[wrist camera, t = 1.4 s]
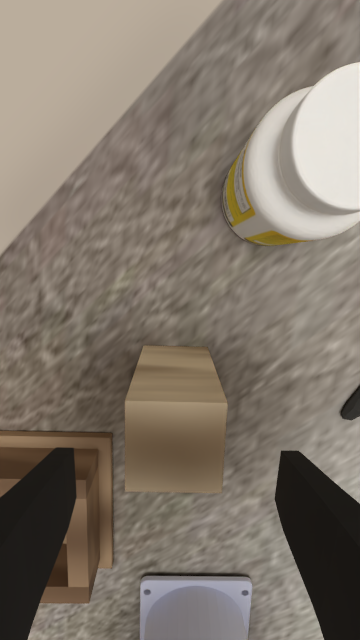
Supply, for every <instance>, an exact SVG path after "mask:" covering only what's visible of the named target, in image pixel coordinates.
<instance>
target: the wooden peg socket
mask: <svg viewBox="0 0 360 640" xmlns="http://www.w3.org/2000/svg"><path fill="white" fill-rule="evenodd" d="M56 447H64V448H74V460H75V477H76V494H77V498H76V502H75V506H74V509H73V513H72V517H71V521H70V524H69V528H68V531H67V533H66V536H65V539H64V541H63V544H62V546H61V549H60V552H59V554H58V557H57V559H56V562H55V564H54V567H53V570H52V572H51V575H50V577H49V580H48V582H47V585H46V588H45V590H44V593H43V595H42V598H41V600H40V603H89V602H90V598H91V594H92V590H93V586H94V581H95V577H96V573H97V569H98V568H112V564H113V473H112V433H91V432H40V431H0V497H1V496H2V495H4V494H5V493H6V492H7V491H8V490H10V489H11V488H12V487H13V486H14V485H15V484H16V483H17V482H19V481H20V480H21V479H22V478H23V477H24V476H25V475H26V474H27V473H29V472H30V471H31V470H32V469H33V468H34V467H35V466H36V465H37V464H38V463H39V462H40V461H42V460H43V459H44V458H45V457H46V456H47V455H48V454H49V453H50V452H51V451H53V450H54V449H55V448H56Z"/></svg>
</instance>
